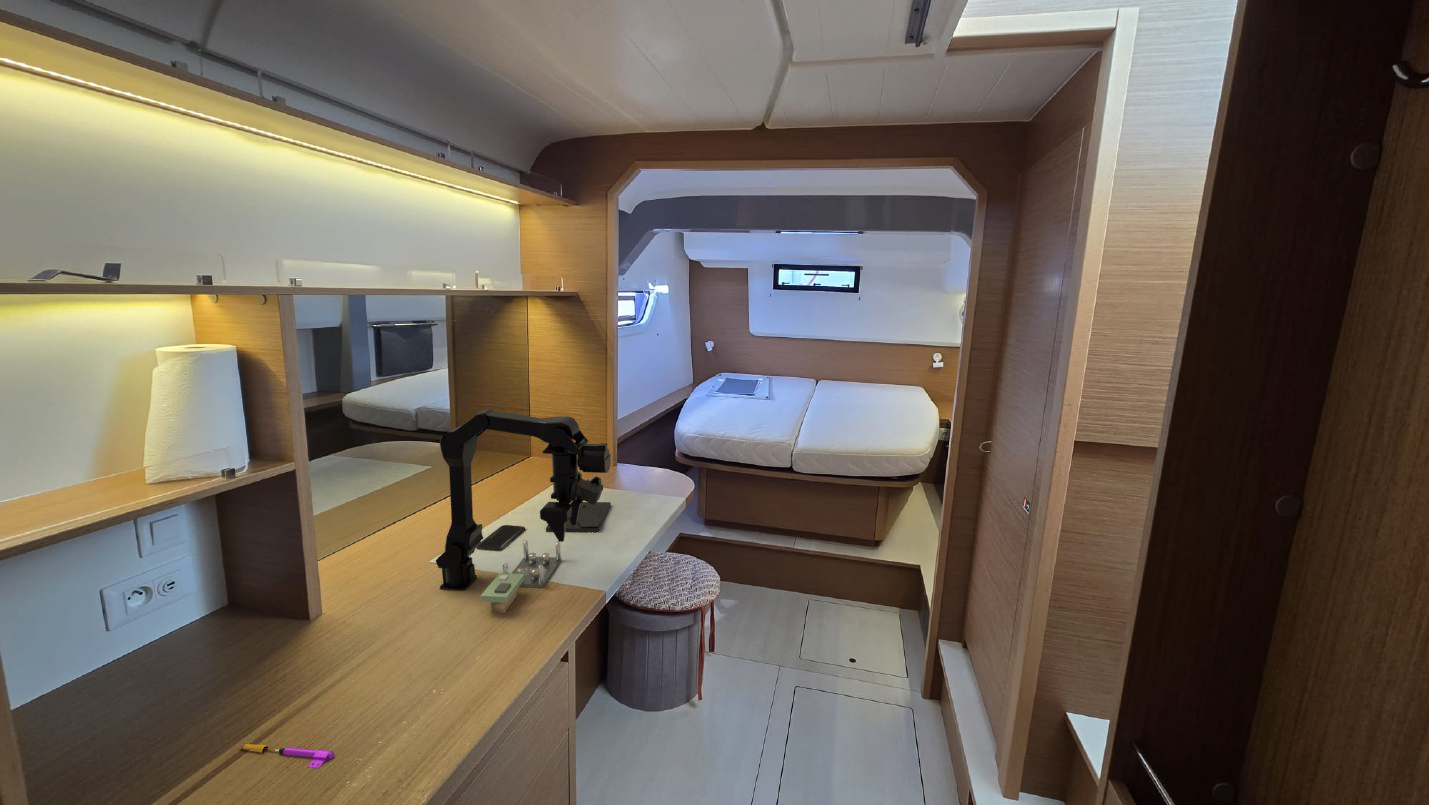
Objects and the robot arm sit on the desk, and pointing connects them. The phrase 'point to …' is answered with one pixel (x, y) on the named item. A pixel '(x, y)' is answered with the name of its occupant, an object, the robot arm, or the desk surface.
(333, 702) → the desk surface
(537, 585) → the chassis
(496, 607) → the block
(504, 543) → the phone
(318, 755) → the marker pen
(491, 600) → the board
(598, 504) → the picture frame
